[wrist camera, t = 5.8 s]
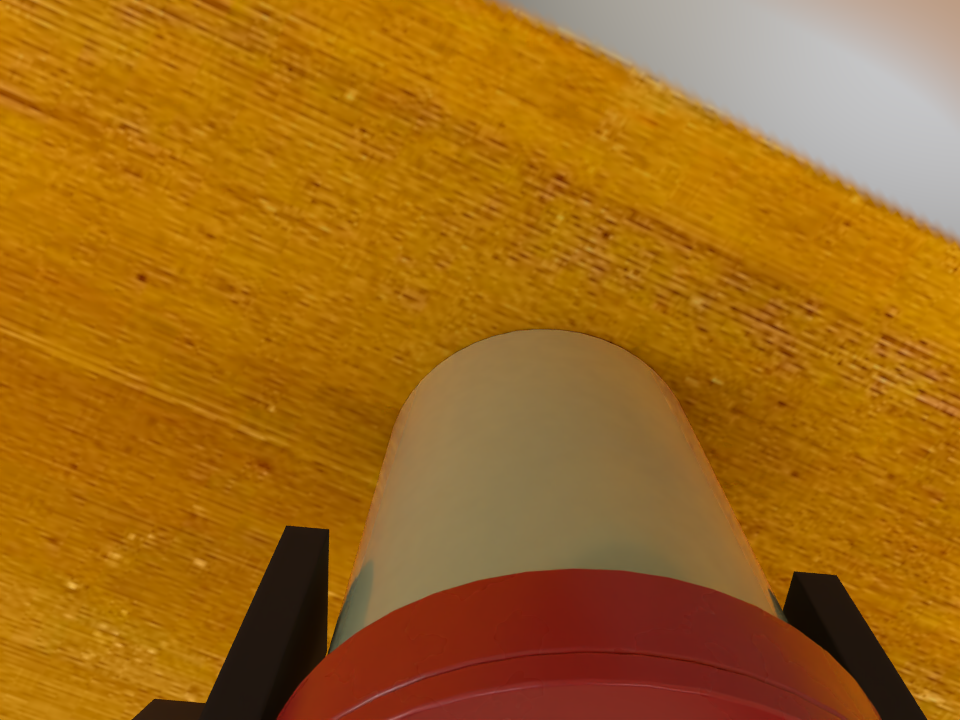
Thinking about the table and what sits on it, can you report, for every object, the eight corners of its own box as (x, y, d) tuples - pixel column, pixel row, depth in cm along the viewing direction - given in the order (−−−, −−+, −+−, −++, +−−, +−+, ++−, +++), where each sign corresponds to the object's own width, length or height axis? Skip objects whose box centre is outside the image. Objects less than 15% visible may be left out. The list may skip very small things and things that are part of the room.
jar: (567, 261, 17) (649, 544, 7) (755, 491, 19) (1015, 950, 9) (324, 453, 19) (137, 875, 9) (517, 643, 21) (530, 1154, 11)
